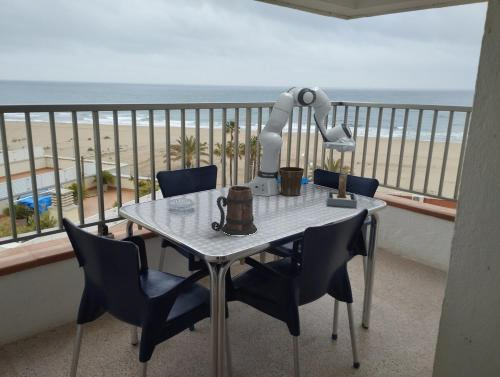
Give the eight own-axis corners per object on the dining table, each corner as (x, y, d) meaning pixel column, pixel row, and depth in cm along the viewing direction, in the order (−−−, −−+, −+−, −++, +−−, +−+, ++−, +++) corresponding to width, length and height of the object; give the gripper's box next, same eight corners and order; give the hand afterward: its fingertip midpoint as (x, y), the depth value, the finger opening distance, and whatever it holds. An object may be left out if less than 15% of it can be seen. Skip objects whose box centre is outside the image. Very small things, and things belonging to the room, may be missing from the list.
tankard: (242, 221, 180) (243, 181, 174) (265, 231, 167) (266, 189, 162) (202, 231, 165) (201, 189, 160) (223, 243, 153) (223, 197, 147)
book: (267, 179, 253) (290, 174, 269) (267, 185, 254) (290, 179, 270) (285, 184, 241) (308, 178, 257) (285, 190, 242) (308, 183, 258)
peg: (337, 202, 210) (339, 175, 206) (337, 200, 213) (339, 174, 209) (344, 202, 209) (347, 175, 205) (344, 201, 213) (346, 174, 209)
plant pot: (277, 190, 239) (278, 166, 235) (301, 190, 238) (303, 166, 234) (278, 196, 223) (279, 171, 219) (304, 197, 222) (305, 171, 218)
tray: (327, 206, 205) (327, 198, 204) (327, 198, 221) (327, 191, 219) (356, 208, 202) (356, 200, 201) (354, 200, 217) (354, 193, 216)
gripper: (327, 139, 238) (319, 141, 227) (358, 141, 228) (351, 143, 216) (326, 148, 240) (318, 151, 228) (357, 151, 229) (350, 154, 218)
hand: (335, 147), depth 222 cm, fingers open, 8 cm apart
